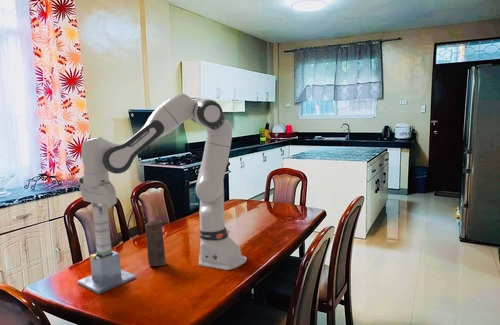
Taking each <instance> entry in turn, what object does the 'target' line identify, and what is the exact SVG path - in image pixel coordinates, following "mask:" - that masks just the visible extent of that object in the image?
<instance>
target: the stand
mask: <svg viewBox="0 0 500 325" xmlns="http://www.w3.org/2000/svg"><path fill="white" fill-rule="evenodd" d="M89 261H90V270H91V275H89V276H85V277H84V278H81V279H79V280H77V284H78V285H79V286H82V287H84V288H86V290H89V291H92V292H93V293H95V294H97V295H101V294H102V293H103V294H104V293H106V292H108V291H110V290H113V289H114V288H117V287H119V286H122V285H123V284H125V283H128V282H130V281H133V280H135V279H137V276H136V274H134V273H131V272H128V271H127V270H123V269H121V260H120V253H119V252H117V251H114V250H112V255H109V256H106V257H104V258H100V257H97V253H96V252H95V253H93V254H90V255H89Z"/></svg>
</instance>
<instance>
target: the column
mask: <svg viewBox="0 0 500 325" xmlns="http://www.w3.org/2000/svg"><path fill="white" fill-rule="evenodd" d="M91 209H92V218H93V222H92V224H93V227H94V228H93V231H94V237H95V238H94V239H95V247H96V250H95V251H96V252H95V254H96V253H97V257H100V258H104V257H106V256H109V255H112V251H113V250H112V241H111V232H110V231H111V227H110V225H109V224H110V220H109V212H108V210H109V209H107V215H101V210H102V207H101V204H97V205H96V206H92V205H91Z"/></svg>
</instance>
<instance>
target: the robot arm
mask: <svg viewBox="0 0 500 325" xmlns="http://www.w3.org/2000/svg"><path fill="white" fill-rule="evenodd" d="M188 120H191V121H193V122H194V123H195V124H196V123H197V124H198V125H200V126H204V127H206V138H205V144H204V150H203V153H202V154H203V155H202V160H201V162H200V166H199V171H198V176H197V180H196V183H195V194H196V197H197V198H198V199H199V210H198V211H199V212H198V213H199V225H200V227H199V238H200V244H199V245H200V246H199V255H198V266H202V267H205V268H206V267H207V268H213V269H218V270H224V271H229V270H233V269H236V268H239V267H240V266H242V265H243V264H245V263H246V262H247V259H248V258H247V256H245V255H243V254H242V250H241V247H240V246H239V245H238V244H237V243H236V242H235V241H234V240H233V239H232V238H231V237H230V236H229V234H230V231H231V230H227V227H226V224H225V188H224V187H225V186H224V183H225V182H224V179H225V174H226V169H227V165H228V162H229V161H228V160H229V158H230V157H229V156H230V152H231V151H230V150H231V146H232V140H233V126H232V123H231V122H230V120H227V119H226V118H225V116H224V112H223V109H222V106H221V105H220V104H219V103H218V102H217V101H215V100H212V99H209V98H202V99H201V98H199V99H192V98H191V97H190V96H189V95H188V94H185V93H177V94H175V95H174V96H172V97H171V98H170V97H169V99H167V100H166V101H164V102H163V103H161V104H160V105H159V106H158V107H157V108H156V109H154V111H152V113H151V114H150V115H149V116H148V118H147V120H146V122H145V124H143V126H142V128H140V129H139V130H138V132H136V133H135V134H133V136H131V137H130V138H129V139H127V140H126V141H125V142H123V143H121V144H118V143H115V142H111V141H109V140H106V139H104V137H99V136H98V137H94V138H90V139H86V140H84V141H83V143H82V144H81V160H82V164H83V175H82V176H81V177H79V178H78V183H79V184H80V185H79V187H80V188H79V189H80V195H81V199H82V200H83V201H84V202H88V203H90V205H91V207H92V206H96V205H101V207H102V210H101V215H107V210H109V209H108V208H109V206H110V207H111V206H114V205H116V204H117V202H118V198H117V193H116V188H115V186H114V185H113V184H112V182H111V181H110V175H109V172H110V173H112V174H116V175H118V174H122V173H125V172H127V170H129V168H130V167H131V166H132V163H133V162H134V160H135V158H136V157H137V156H138V155H139V154H140V153H141V152H143V150H145V149H146V148H147V147H148V146H149V145H151V144H152V143H153V142H154V141H156V140H158V139H160V138H162V137H164V136H167V135H169V134H170V133H172V132H173V131H175V130H176V129H177V128H179V127H180V126H181V125H182V124H183V123H184V122H186V121H188Z"/></svg>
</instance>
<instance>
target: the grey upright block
mask: <svg viewBox="0 0 500 325" xmlns="http://www.w3.org/2000/svg"><path fill="white" fill-rule="evenodd" d="M144 228H145V237H146V238H145V239H146V251H147V261H148V265H149V266H151V267H158V266H165V265H166V264H167V261H166V252H165V242H164V231H163V222H162V220H159V219H158V220H156V219H155V220H150V221H148V222H146V223H145V224H144Z"/></svg>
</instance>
